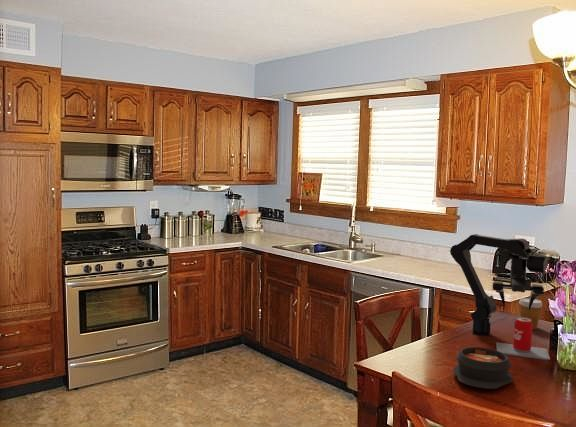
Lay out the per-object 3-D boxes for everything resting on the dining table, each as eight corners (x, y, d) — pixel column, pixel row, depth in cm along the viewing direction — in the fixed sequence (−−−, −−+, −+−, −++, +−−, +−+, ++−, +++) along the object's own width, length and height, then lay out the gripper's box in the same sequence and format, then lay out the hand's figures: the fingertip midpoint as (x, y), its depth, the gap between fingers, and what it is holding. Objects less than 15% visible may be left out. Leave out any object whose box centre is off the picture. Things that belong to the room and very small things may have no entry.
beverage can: (515, 346, 209) (517, 315, 208) (532, 349, 205) (534, 319, 204) (510, 350, 204) (512, 319, 203) (528, 354, 200) (530, 322, 199)
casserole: (460, 362, 192) (461, 339, 191) (516, 372, 183) (518, 348, 182) (444, 386, 170) (446, 360, 169) (508, 399, 161) (510, 372, 160)
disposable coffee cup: (540, 326, 240) (542, 299, 239) (540, 331, 231) (542, 304, 230) (517, 322, 244) (519, 296, 243) (516, 328, 235) (518, 301, 234)
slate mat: (496, 353, 202) (497, 351, 202) (496, 343, 213) (496, 342, 213) (549, 360, 196) (550, 358, 196) (546, 350, 207) (546, 348, 207)
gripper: (493, 271, 211) (491, 310, 213) (546, 275, 205) (544, 316, 206) (493, 267, 222) (491, 304, 223) (543, 270, 215) (541, 309, 217)
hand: (516, 308), depth 217 cm, fingers open, 9 cm apart
